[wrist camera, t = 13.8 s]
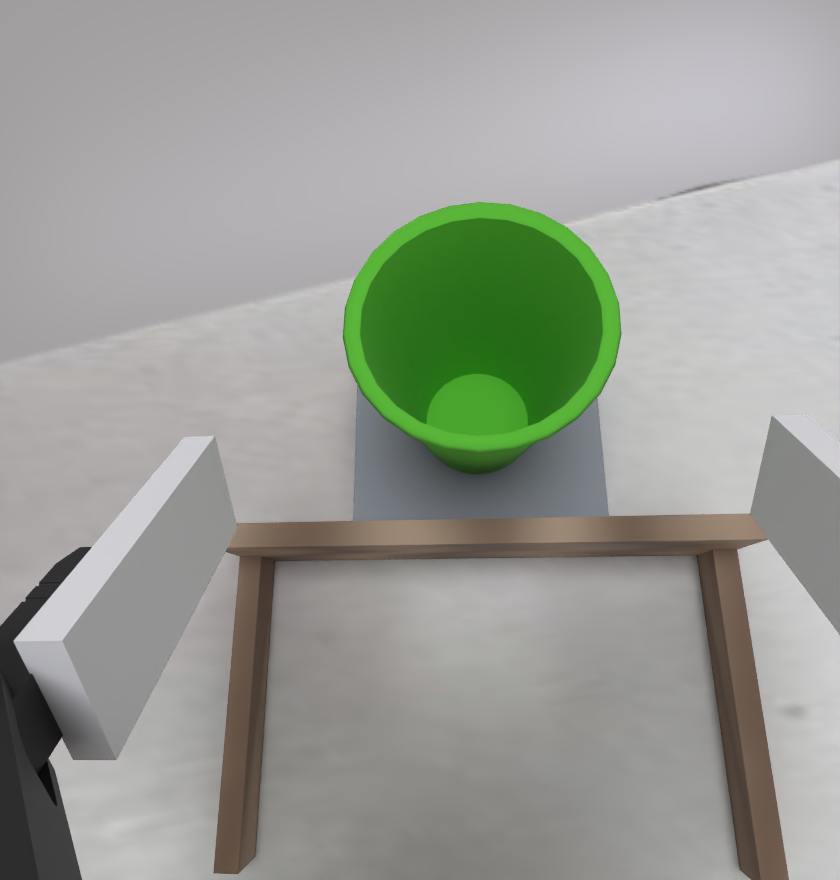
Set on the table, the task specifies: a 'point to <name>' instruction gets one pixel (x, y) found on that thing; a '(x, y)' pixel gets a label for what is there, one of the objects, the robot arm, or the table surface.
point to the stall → (508, 539)
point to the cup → (481, 331)
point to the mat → (477, 476)
